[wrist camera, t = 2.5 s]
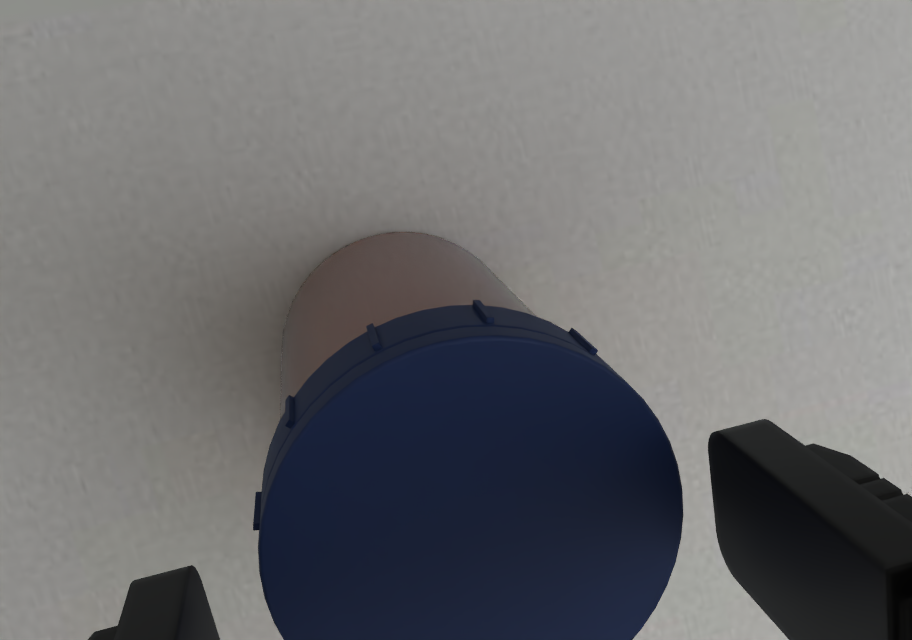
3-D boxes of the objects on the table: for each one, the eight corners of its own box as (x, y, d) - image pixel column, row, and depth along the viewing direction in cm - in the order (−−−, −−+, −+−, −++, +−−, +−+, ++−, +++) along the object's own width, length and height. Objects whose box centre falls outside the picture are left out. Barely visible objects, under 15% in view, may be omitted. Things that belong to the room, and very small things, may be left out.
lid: (617, 264, 13) (660, 291, 11) (660, 600, 15) (703, 662, 13) (215, 356, 12) (205, 397, 11) (312, 697, 14) (315, 775, 12)
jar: (494, 208, 20) (629, 300, 12) (531, 424, 21) (670, 630, 14) (255, 260, 19) (232, 393, 11) (312, 479, 21) (326, 726, 13)
